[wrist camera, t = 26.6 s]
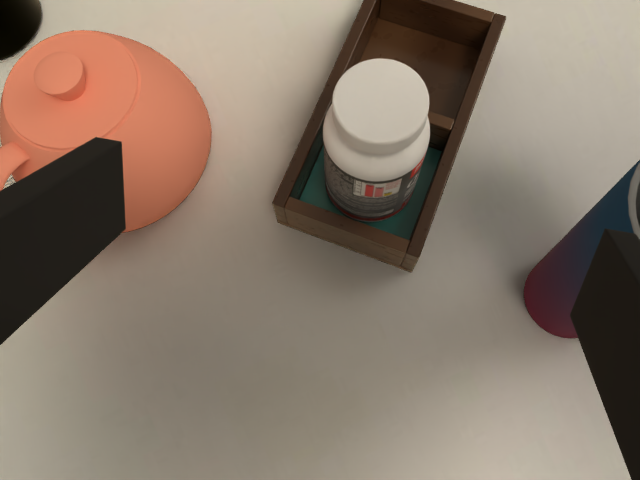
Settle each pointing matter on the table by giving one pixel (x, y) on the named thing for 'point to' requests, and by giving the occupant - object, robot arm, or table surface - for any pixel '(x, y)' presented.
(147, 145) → the sugar bowl
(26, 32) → the battery
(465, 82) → the divided tray
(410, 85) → the pill bottle
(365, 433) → the table surface
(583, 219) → the cup
